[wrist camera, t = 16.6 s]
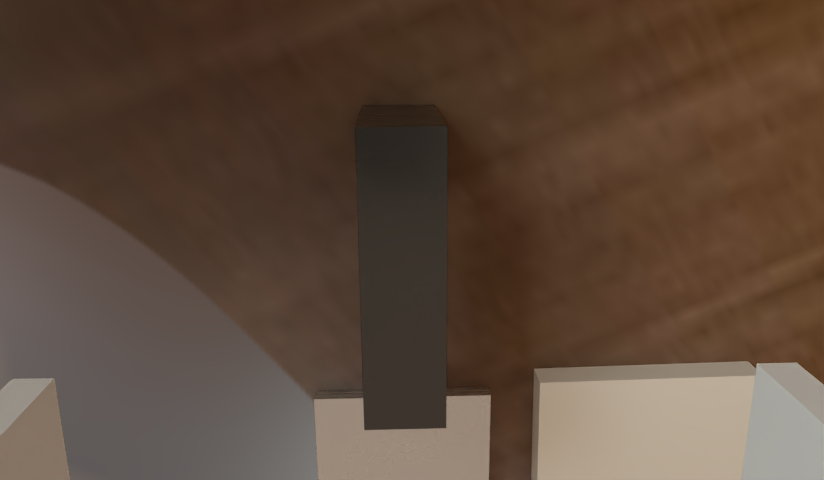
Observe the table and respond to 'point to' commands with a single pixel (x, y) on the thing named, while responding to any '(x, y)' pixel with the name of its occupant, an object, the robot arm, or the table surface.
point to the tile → (641, 421)
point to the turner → (403, 318)
